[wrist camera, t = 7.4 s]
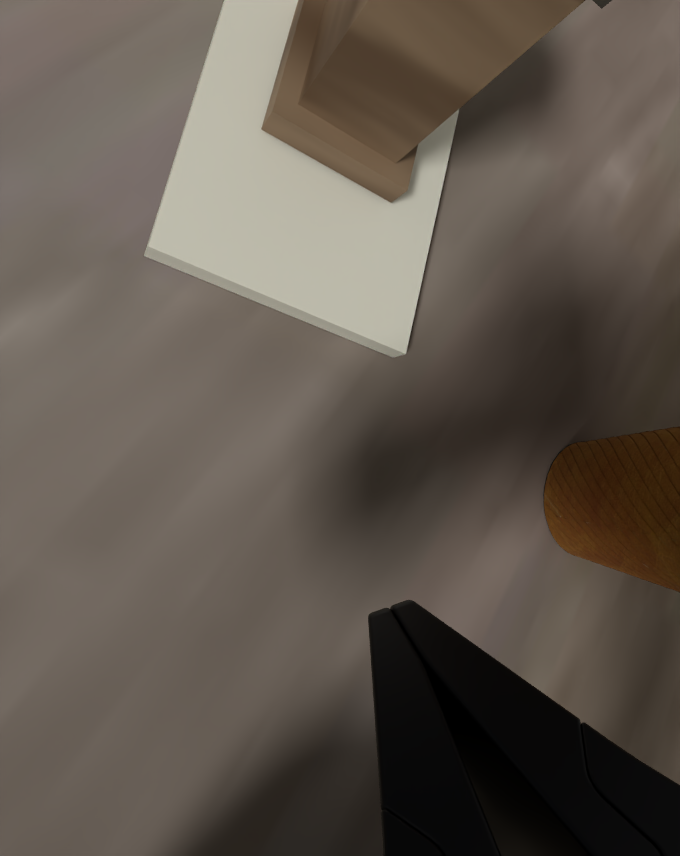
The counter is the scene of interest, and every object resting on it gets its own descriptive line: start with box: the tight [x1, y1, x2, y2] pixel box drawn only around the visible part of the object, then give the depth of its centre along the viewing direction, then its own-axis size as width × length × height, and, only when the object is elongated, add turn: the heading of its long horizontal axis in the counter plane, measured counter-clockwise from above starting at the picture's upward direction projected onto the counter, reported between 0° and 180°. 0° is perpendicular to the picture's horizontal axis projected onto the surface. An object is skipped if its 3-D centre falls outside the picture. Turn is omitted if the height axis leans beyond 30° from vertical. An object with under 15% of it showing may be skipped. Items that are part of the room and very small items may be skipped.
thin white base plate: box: [144, 0, 459, 358], centre depth 22 cm, size 15×11×2 cm
